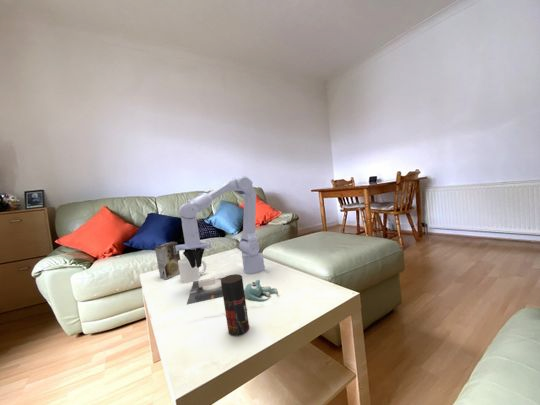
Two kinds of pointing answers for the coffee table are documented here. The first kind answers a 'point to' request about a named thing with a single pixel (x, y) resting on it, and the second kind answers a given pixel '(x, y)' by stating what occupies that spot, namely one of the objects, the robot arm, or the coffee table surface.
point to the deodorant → (235, 304)
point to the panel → (203, 295)
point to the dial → (208, 284)
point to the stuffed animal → (258, 291)
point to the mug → (189, 271)
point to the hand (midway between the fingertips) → (196, 266)
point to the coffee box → (168, 260)
